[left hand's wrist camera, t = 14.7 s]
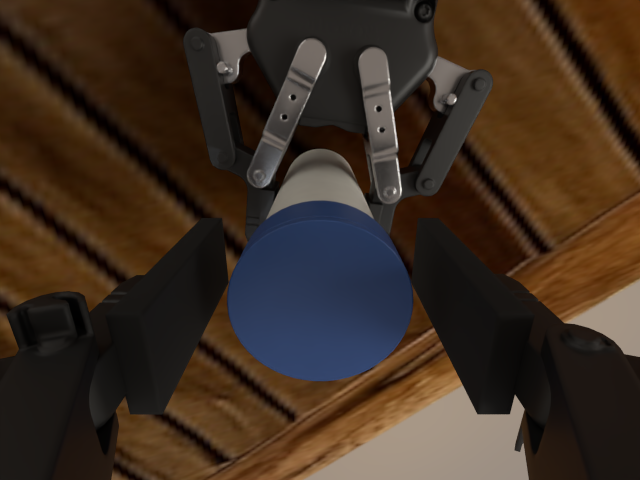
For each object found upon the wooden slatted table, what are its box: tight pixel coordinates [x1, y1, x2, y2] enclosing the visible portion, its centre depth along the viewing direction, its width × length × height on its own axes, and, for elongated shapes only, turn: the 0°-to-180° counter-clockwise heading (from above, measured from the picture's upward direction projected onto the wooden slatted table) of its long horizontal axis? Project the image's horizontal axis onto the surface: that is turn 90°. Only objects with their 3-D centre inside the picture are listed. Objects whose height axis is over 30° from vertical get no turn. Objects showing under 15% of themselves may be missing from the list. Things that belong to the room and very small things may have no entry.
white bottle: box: [266, 149, 374, 219], centre depth 18 cm, size 5×5×16 cm
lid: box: [227, 200, 413, 381], centre depth 11 cm, size 5×5×2 cm
